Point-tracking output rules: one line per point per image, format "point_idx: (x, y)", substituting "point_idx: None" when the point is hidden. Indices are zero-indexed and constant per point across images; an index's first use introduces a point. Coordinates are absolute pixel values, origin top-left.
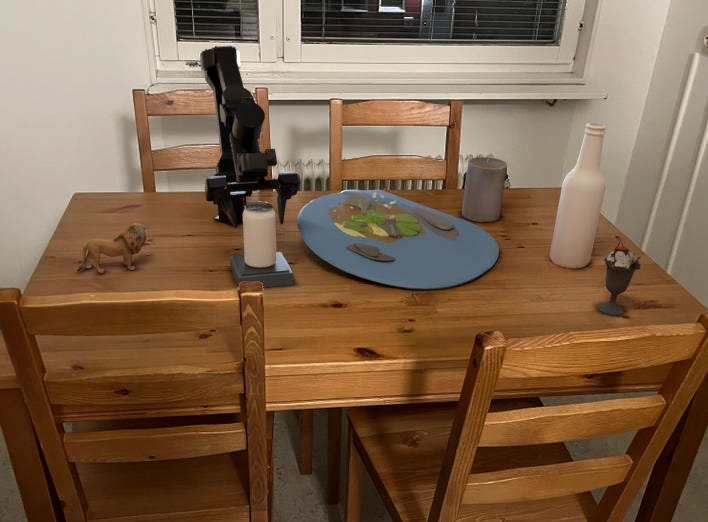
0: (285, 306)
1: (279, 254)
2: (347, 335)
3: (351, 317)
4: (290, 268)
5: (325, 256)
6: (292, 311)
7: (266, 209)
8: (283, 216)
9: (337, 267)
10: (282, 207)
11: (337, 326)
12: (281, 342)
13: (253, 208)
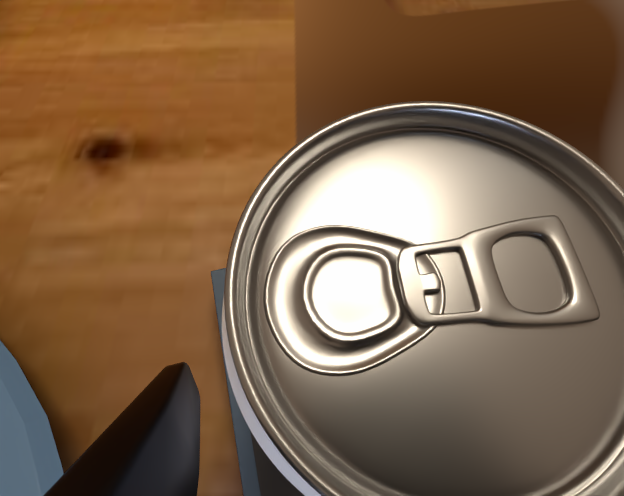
0: (259, 145)
1: (260, 476)
2: (121, 25)
3: (85, 93)
4: (217, 311)
5: (19, 413)
6: (241, 120)
7: (327, 224)
8: (137, 402)
9: (5, 348)
10: (84, 487)
11: (134, 57)
12: (275, 3)
13: (517, 255)
